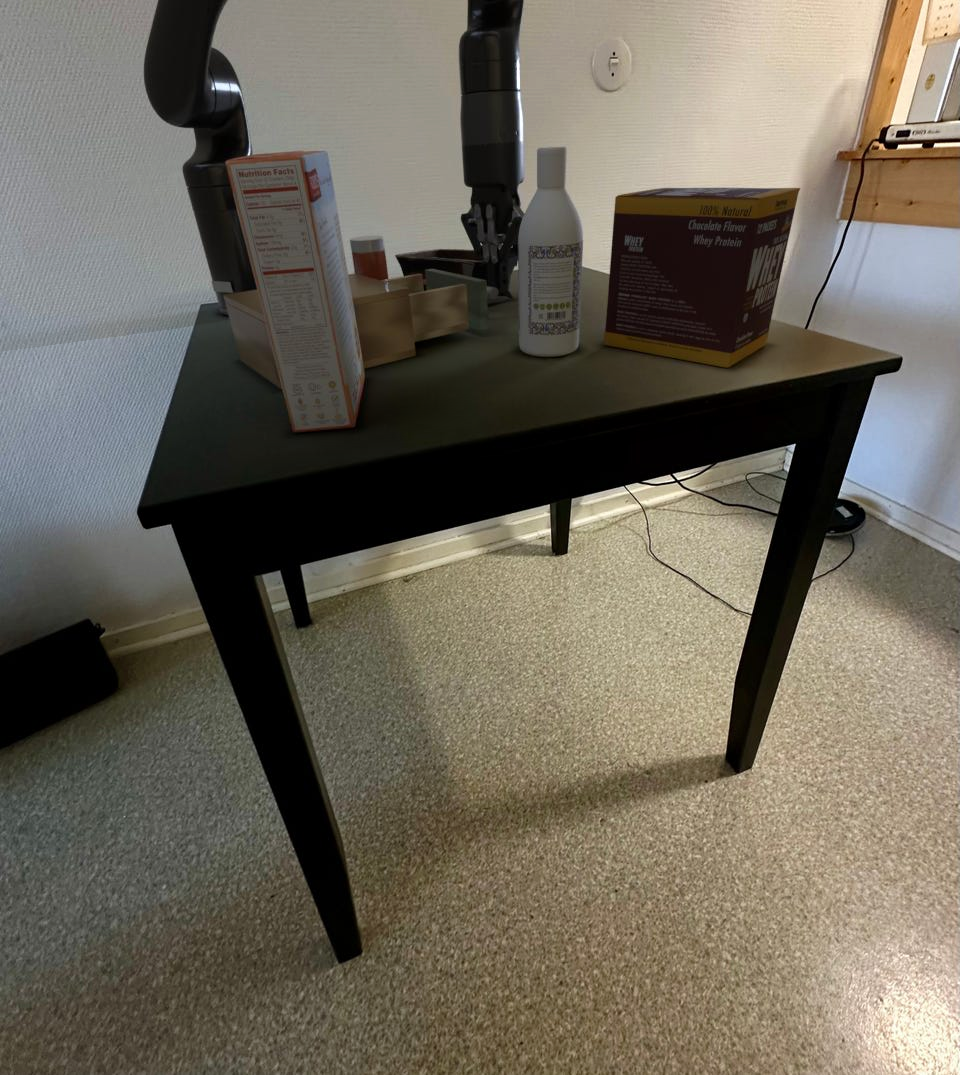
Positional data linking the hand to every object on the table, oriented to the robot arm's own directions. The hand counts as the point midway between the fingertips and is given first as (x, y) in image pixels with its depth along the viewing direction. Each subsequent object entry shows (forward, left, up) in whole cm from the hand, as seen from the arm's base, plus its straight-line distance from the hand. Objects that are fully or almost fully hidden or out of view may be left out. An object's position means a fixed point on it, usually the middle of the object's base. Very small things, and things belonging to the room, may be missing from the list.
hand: (498, 291), depth 82 cm
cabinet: (0, -26, -4) cm, 26 cm away
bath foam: (+16, -5, -4) cm, 17 cm away
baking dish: (-12, +2, -4) cm, 13 cm away
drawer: (0, -12, -3) cm, 12 cm away
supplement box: (+26, +7, -4) cm, 27 cm away
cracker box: (+14, -32, -4) cm, 35 cm away
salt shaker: (-10, -14, -4) cm, 17 cm away
